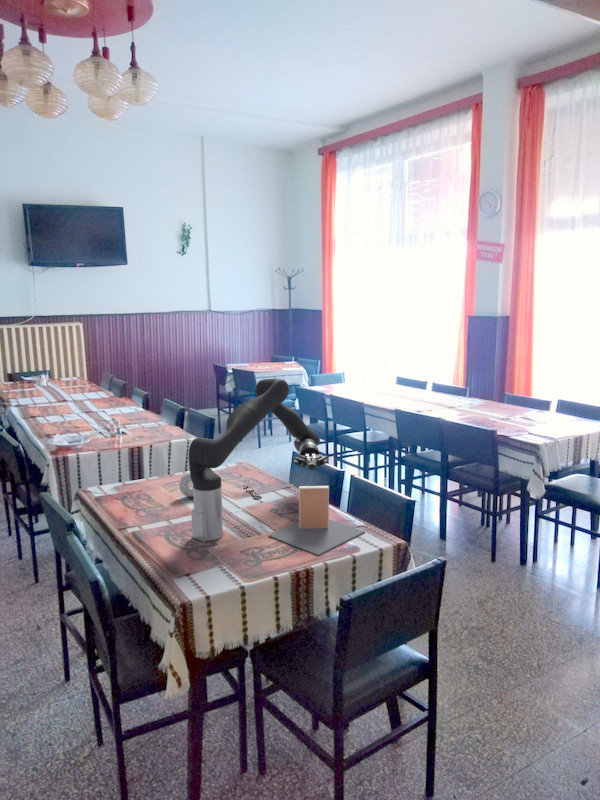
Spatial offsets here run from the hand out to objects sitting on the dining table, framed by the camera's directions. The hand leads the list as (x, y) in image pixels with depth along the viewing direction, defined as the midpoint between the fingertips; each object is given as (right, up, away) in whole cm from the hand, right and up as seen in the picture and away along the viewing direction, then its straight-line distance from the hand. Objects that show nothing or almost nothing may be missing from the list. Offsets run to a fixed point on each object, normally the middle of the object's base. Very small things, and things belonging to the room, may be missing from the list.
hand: (312, 467), depth 214 cm
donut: (-47, -15, +26) cm, 56 cm away
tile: (0, -20, -7) cm, 21 cm away
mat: (+1, -21, -11) cm, 24 cm away
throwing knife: (-24, -14, +31) cm, 42 cm away
